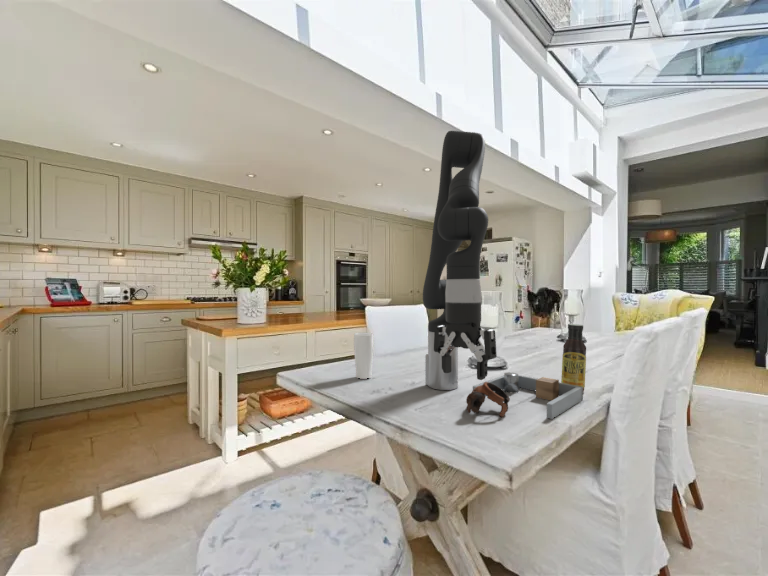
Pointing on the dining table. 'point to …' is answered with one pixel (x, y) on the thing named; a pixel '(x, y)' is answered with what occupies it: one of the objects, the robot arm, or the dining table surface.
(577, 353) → the sauce bottle
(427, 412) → the dining table surface
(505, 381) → the peg
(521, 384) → the corral
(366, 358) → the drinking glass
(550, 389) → the block
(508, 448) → the dining table surface
